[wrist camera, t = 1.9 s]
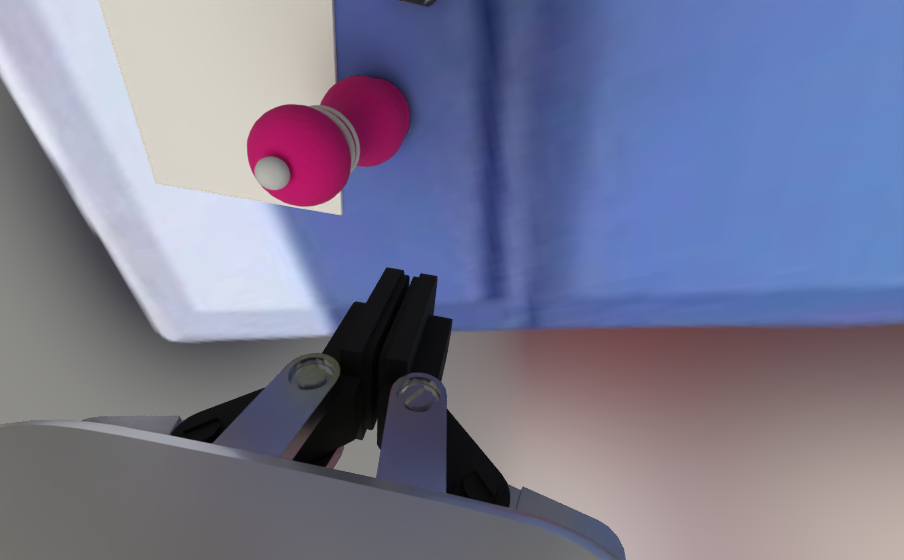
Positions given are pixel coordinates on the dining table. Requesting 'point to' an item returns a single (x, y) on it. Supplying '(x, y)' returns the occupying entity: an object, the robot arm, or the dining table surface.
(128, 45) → the rubber mat
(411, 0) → the chalk box
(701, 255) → the dining table surface
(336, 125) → the pepper mill
